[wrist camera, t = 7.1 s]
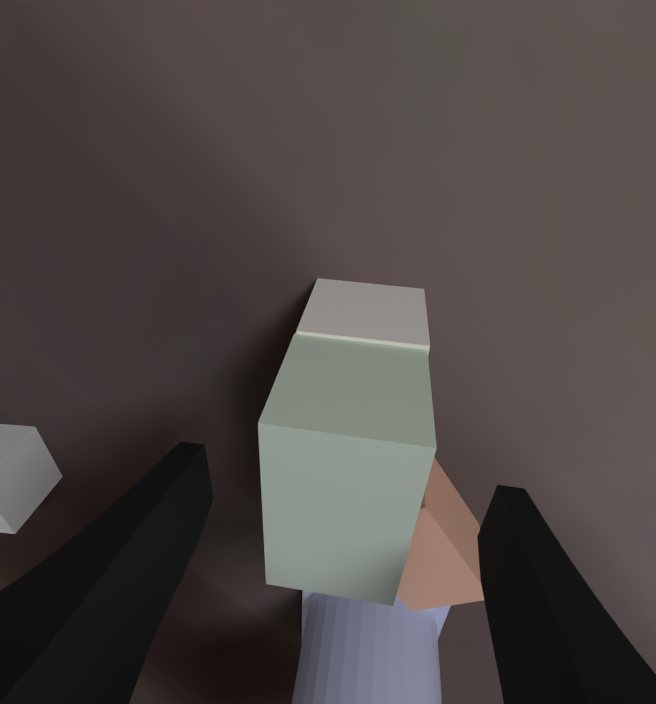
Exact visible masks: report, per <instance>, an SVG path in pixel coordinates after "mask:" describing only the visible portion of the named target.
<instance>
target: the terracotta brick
mask: <svg viewBox="0 0 656 704" xmlns="http://www.w3.org/2000/svg"><path fill="white" fill-rule="evenodd" d="M479 531H480V526H479V524H478V522H477V521H476V519H475V518H474V516H473V515H472V513H471V512H470V510H469V509H468V507H467V506H466V504H465V503H464V501H463V500H462V498H461V497H460V495H459V494H458V492H457V491H456V489H455V488H454V486H453V485H452V483H451V482H450V480H449V479H448V477H447V476H446V474H445V473H444V471H443V470H442V468H441V467H440V465H439V464H438V462H437V461H436V459H435V458H434V459H433V463H432V467H431V470H430V474H429V478H428V481H427V485H426V488H425V492H424V496H423V499H422V503H421V507H420V510H419V514H418V518H417V521H416V525H415V529H414V532H413V536H412V540H411V543H410V547H409V551H408V554H407V558H406V562H405V565H404V569H403V573H402V576H401V580H400V583H399V587H398V591H397V594H396V595H397V596H398V597H399V598H400V599H401V600H402V602H403V603H404V604H405V605H406V606H407V607H408V608H409V609H410V610H411V612H412V611H418V610H425V609H431V608H437V607H444V606H450V605H456V604H463V603H469V602H475V601H482V600H484V596H483V590H482V585H481V578H480V567H479V554H478V540H477V536H478V534H479Z"/></svg>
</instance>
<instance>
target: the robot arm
mask: <svg viewBox="0 0 656 704" xmlns="http://www.w3.org/2000/svg"><path fill="white" fill-rule="evenodd" d="M212 500H213V493H212V487H211V481H210V475H209V469H208V463H207V457H206V451H205V445H202V444H195V443H187V442H180V443H179V444H178V445H177V446H176V447H175V448H173V449H172V450H171V451H170V452H169V453H168V454H167V455H166V456H165V457H164V458H163V459H162V460H161V461H160V462H159V463H158V464H157V465H155V466H154V467H153V468H152V469H151V470H150V471H149V472H148V473H147V474H146V475H145V476H144V477H143V478H141V479H140V480H139V481H138V482H137V483H136V484H135V485H134V486H133V487H132V488H131V489H129V490H128V491H127V492H126V493H125V494H124V495H123V496H122V497H120V498H119V499H118V500H117V501H116V502H115V503H114V504H113V505H111V506H110V507H109V508H108V509H107V510H106V511H105V512H103V513H102V514H101V515H100V516H99V517H97V518H96V519H95V520H94V521H93V522H91V523H90V524H89V525H88V526H87V527H85V528H84V529H83V530H82V531H80V532H79V533H78V534H77V535H76V536H74V537H73V538H72V539H71V540H69V541H68V542H67V543H66V544H64V545H63V546H62V547H61V548H59V549H58V550H57V551H55V552H54V553H53V554H51V555H50V556H49V557H47V558H46V559H45V560H43V561H42V562H41V563H39V564H38V565H37V566H35V567H34V568H33V569H31V570H30V571H28V572H27V573H26V574H24V575H23V576H22V577H20V578H19V579H17V580H16V581H14V582H13V583H11V584H10V585H9V586H7V587H6V588H4V589H3V590H1V591H0V704H129V702H130V699H131V696H132V693H133V691H134V688H135V685H136V682H137V680H138V677H139V674H140V672H141V669H142V666H143V663H144V661H145V658H146V655H147V653H148V650H149V647H150V645H151V643H152V640H153V638H154V636H155V633H156V631H157V629H158V626H159V624H160V622H161V620H162V618H163V616H164V613H165V611H166V609H167V607H168V605H169V603H170V601H171V598H172V596H173V594H174V592H175V590H176V588H177V586H178V584H179V581H180V579H181V577H182V575H183V573H184V571H185V569H186V567H187V564H188V562H189V560H190V558H191V556H192V554H193V551H194V549H195V547H196V545H197V543H198V540H199V538H200V536H201V533H202V530H203V527H204V524H205V521H206V518H207V515H208V512H209V509H210V506H211V503H212ZM477 540H478V554H479V567H480V578H481V585H482V590H483V596H484V601H485V606H486V612H487V617H488V622H489V627H490V632H491V637H492V642H493V647H494V653H495V658H496V663H497V668H498V673H499V678H500V683H501V688H502V695H503V701H504V704H656V674H655V673H654V671H653V670H652V669H651V668H650V667H649V665H648V664H647V663H646V662H645V660H644V659H643V658H642V657H641V655H640V654H639V653H638V652H637V650H636V649H635V648H634V647H633V645H632V644H631V643H630V641H629V640H628V639H627V638H626V636H625V635H624V634H623V632H622V631H621V630H620V628H619V627H618V626H617V624H616V623H615V622H614V620H613V619H612V618H611V616H610V615H609V614H608V612H607V611H606V610H605V608H604V607H603V606H602V604H601V603H600V601H599V600H598V599H597V597H596V596H595V594H594V593H593V592H592V590H591V589H590V587H589V586H588V584H587V583H586V582H585V580H584V579H583V577H582V576H581V574H580V573H579V571H578V570H577V569H576V567H575V566H574V564H573V563H572V561H571V560H570V558H569V557H568V555H567V554H566V552H565V551H564V549H563V548H562V546H561V545H560V543H559V542H558V540H557V539H556V537H555V536H554V534H553V532H552V531H551V529H550V528H549V526H548V525H547V523H546V521H545V520H544V518H543V517H542V515H541V514H540V512H539V510H538V509H537V507H536V506H535V504H534V502H533V501H532V499H531V498H530V496H529V494H528V493H527V491H526V490H525V489H523V488H516V487H509V486H501V485H497V487H496V490H495V493H494V495H493V498H492V500H491V503H490V505H489V508H488V510H487V513H486V516H485V518H484V521H483V523H482V526H481V528H480V531H479V534H478V536H477ZM450 606H451V605H450ZM450 606H444V607H437V608H431V609H425V610H418V611H412V612H411V610H410V609H409V608H408V607H407V606H406V605H405V604H404V603H403V602H402V600H401V599H400V598H399V597H398V596H397V595H396V598H395V602H394V605H393V606H390V605H384V604H379V603H373V602H367V601H361V600H356V599H350V598H344V597H338V596H333V595H327V594H321V593H315V592H310V591H304V590H302V646H301V652H300V658H299V664H298V670H297V675H296V681H295V687H294V693H293V698H292V704H442V700H441V685H440V669H439V654H438V637H439V635H440V632H441V629H442V627H443V624H444V622H445V619H446V617H447V614H448V612H449V609H450Z"/></svg>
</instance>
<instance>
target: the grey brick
mask: <svg viewBox="0 0 656 704" xmlns="http://www.w3.org/2000/svg"><path fill="white" fill-rule="evenodd" d="M62 477H63V476H62V474H61V473H60V471H59V469H58V467H57V465H56V463H55V462H54V460H53V458H52V456H51V454H50V453H49V451H48V449H47V447H46V445H45V444H44V442H43V440H42V438H41V436H40V435H39V433H38V431H37V429H36V427H31V426H18V425H5V424H0V532H2V533H10V534H15V533H16V532H17V531H18V530H19V529H20V527H21V526H22V525H23V524H24V523H25V521H26V520H27V519H28V518H29V517H30V515H31V514H32V513H33V512H34V511H35V509H36V508H37V507H38V506H39V505H40V503H41V502H42V501H43V500H44V499H45V497H46V496H47V495H48V494H49V493H50V491H51V490H52V489H53V488H54V487H55V485H56V484H57V483H58V482H59V481H60V479H61V478H62Z"/></svg>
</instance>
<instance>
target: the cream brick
mask: <svg viewBox="0 0 656 704" xmlns="http://www.w3.org/2000/svg"><path fill="white" fill-rule="evenodd" d="M296 334H303V335H311V336H319V337H328V338H336V339H344V340H353V341H361V342H369V343H377V344H386V345H394V346H402V347H411V348H419V349H427V352H428V353H429V348H430V341H429V331H428V322H427V312H426V303H425V293H424V289H418V288H408V287H398V286H388V285H378V284H368V283H358V282H348V281H338V280H328V279H318V278H317V281H316V283H315V286H314V288H313V291H312V293H311V295H310V298H309V300H308V303H307V305H306V308H305V310H304V313H303V315H302V318H301V320H300V323H299V325H298V328H297V330H296Z"/></svg>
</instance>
